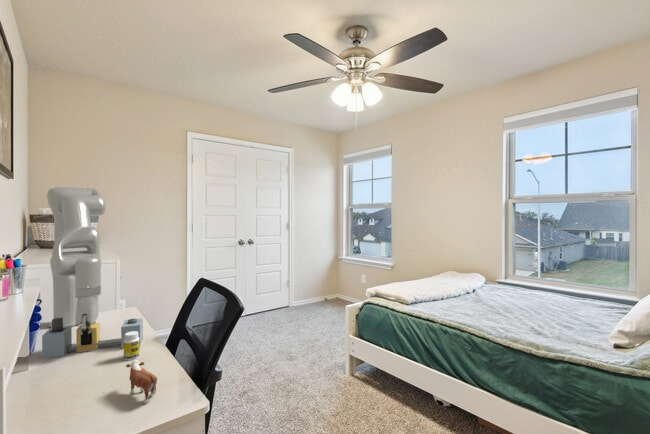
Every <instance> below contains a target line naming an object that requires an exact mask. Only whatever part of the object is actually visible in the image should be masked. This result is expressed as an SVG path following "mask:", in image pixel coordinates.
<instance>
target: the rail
mask: <svg viewBox="0 0 650 434" xmlns="http://www.w3.org/2000/svg"><path fill="white" fill-rule="evenodd" d="M118 347H119V348H120V347H121V337H120V338H113V339H111V338H110V339H102V340H100V341H98V343H97V350H102V349H105V350H106V349H111V348H118ZM72 353H78V352H77V350H76V343H72V344H69V345H68V347H67V353H66V354H72Z"/></svg>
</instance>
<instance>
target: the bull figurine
mask: <svg viewBox="0 0 650 434" xmlns="http://www.w3.org/2000/svg"><path fill="white" fill-rule="evenodd" d="M144 365H145V362H144V361H141V362H140V361H139V360H138V359H133V360H132V362H131V363H127V364H126V365H125V367H126V368H130V372H129V373H130V375H129V381H130V391H129V393H130V394H131V395H133V394H134V390H135V388H139V389H140V390H139V392H140V391H141V392H140V393H144V397H145V400H144V401H143V403H146V404H148V403H149V401H148V400H149V399H148V398H149V396H151V397H150V398H152V397H154V396H155V395H156V393H157V383H158V377H157V376H156V375H154V374H153V373H152V372H150V371H148V370H146V369H145V368H144V367H141V366H144ZM142 391H144V392H142ZM149 393H150V394H149Z"/></svg>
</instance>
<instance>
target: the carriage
mask: <svg viewBox="0 0 650 434" xmlns="http://www.w3.org/2000/svg"><path fill="white" fill-rule="evenodd" d="M86 325H89V324H86ZM86 328H88V329H89V326H86ZM75 333H76V336H75V338H76V340H75V341H76V342H75V344H76V350H77V352H76V353H82V352H87V351H88V352H90V351H97V350H98V349H97V343H98V341H101V323H99V322H97V323H96V324H92V325H91V333H92V344H90V345H81V324H80V325H79V326H78V328H77V329H76V332H75Z"/></svg>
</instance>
